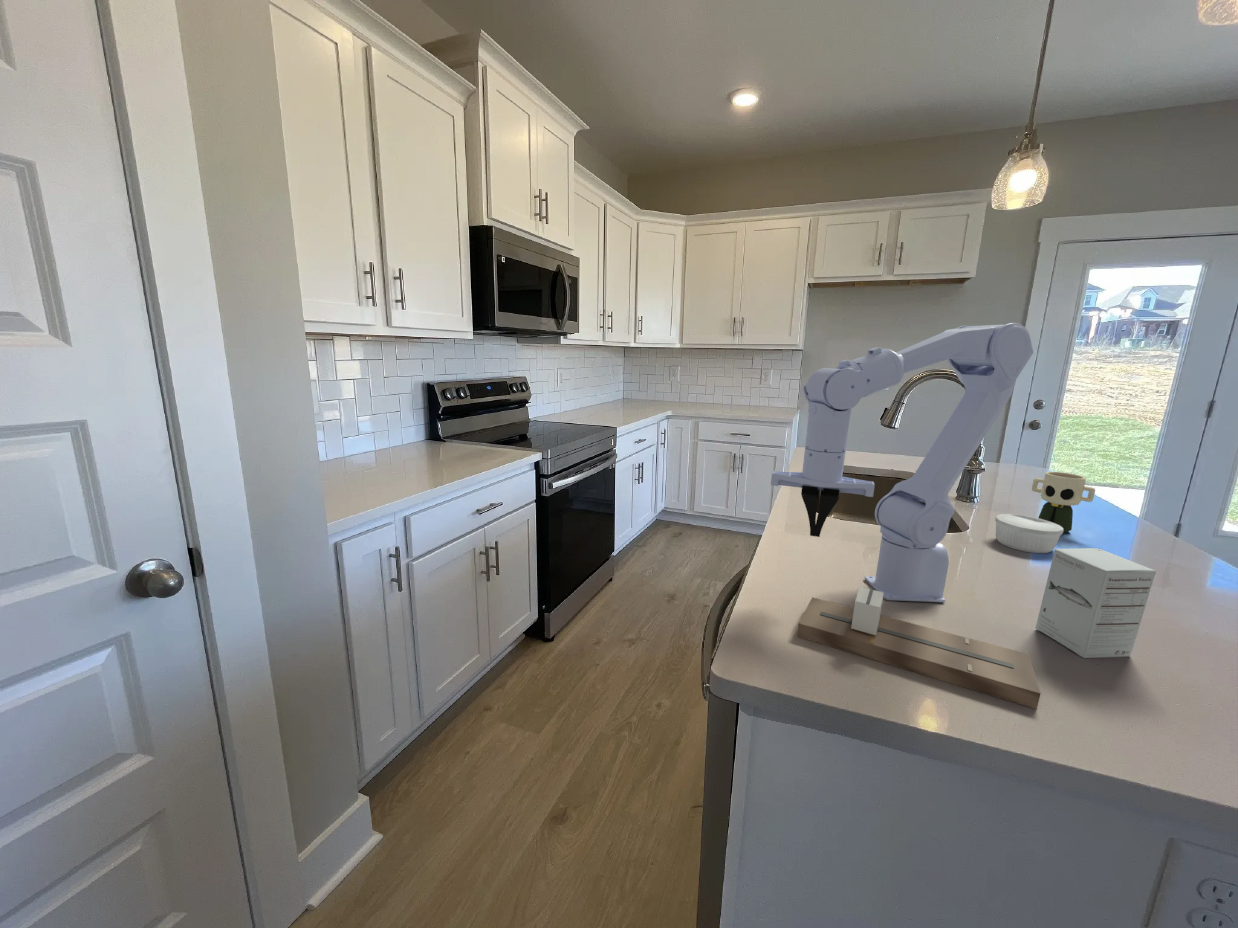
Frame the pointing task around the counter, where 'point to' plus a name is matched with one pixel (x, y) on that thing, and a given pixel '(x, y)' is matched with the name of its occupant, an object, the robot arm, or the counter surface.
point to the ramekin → (1027, 533)
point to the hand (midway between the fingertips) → (814, 534)
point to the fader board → (926, 652)
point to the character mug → (1061, 496)
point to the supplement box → (1094, 602)
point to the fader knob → (867, 610)
